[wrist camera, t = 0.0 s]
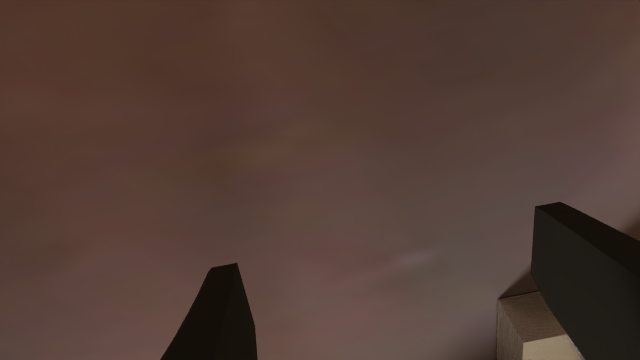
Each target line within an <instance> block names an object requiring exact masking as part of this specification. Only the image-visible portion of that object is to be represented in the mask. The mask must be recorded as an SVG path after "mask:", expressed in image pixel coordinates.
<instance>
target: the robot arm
mask: <svg viewBox="0 0 640 360" xmlns="http://www.w3.org/2000/svg"><path fill="white" fill-rule="evenodd" d="M531 274H532V276H533V278H534V280H535V282H536V284H537V286H538V288H539V290H540V292H541V294H542V296H543V298H544V300H545V302H546V303H547V305H548V307H549V309H550V310H551V312H552V313H553V315H554V316H555V318H556V319H557V321H558V322H559V323H560V325H561V326H562V328H563V329H564V331H565V332H566V333H567V335H568V336H569V338H570V339H571V340H572V342H573V343H574V345H575V346H576V347H577V349H578V350H579V352H580V353H581V354H582V356H583V357H584V359H585V360H640V241H638V240H636V239H634V238H632V237H630V236H628V235H626V234H624V233H622V232H620V231H618V230H616V229H614V228H612V227H610V226H608V225H606V224H604V223H602V222H600V221H598V220H596V219H594V218H592V217H590V216H588V215H586V214H584V213H582V212H581V211H578V210H576V209H574V208H572V207H570V206H568V205H566V204H564V203H561V202H557V203H551V204H546V205H541V206H535V215H534V231H533V246H532V262H531ZM160 360H257V346H256V333H255V325H254V321H253V318H252V314H251V310H250V307H249V303H248V300H247V296H246V293H245V289H244V286H243V282H242V279H241V275H240V272H239V268H238V264H237V263H234V264H229V265H224V266H218V267H213V268H211V269H210V271H209V272H208V274H207V276H206V278H205V280H204V282H203V284H202V286H201V288H200V291H199V293H198V295H197V297H196V299H195V301H194V303H193V304H192V306H191V308H190V310H189V312H188V314H187V316H186V318H185V319H184V321H183V323H182V325H181V327H180V328H179V330H178V332H177V334H176V335H175V337H174V339H173V340H172V342H171V344H170V345H169V347H168V348H167V350H166V352H165V353H164V355H163V356H162V358H161V359H160Z"/></svg>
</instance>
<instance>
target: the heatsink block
mask: <svg viewBox="0 0 640 360" xmlns="http://www.w3.org/2000/svg"><path fill="white" fill-rule="evenodd" d="M580 356H581V353H580V352H579V350H578V349H577V347H576V346H575V345H574V343H573V342H572V340H571V339H570V338H569V336H568V335H567V333H566V332H565V331H564V329H563V328H562V326H561V325H560V323H559V322H558V321H557V319H556V318H555V316H554V315H553V313H552V312H551V310H550V309H549V307H548V305H547V303H546V302H545V300H544V298H543V296H542V294H541V292H540V291H538V292H533V293H528V294H523V295H518V296H512V297H507V298H502V299H498V313H497V356H496V360H582V359H581V358H580Z"/></svg>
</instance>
